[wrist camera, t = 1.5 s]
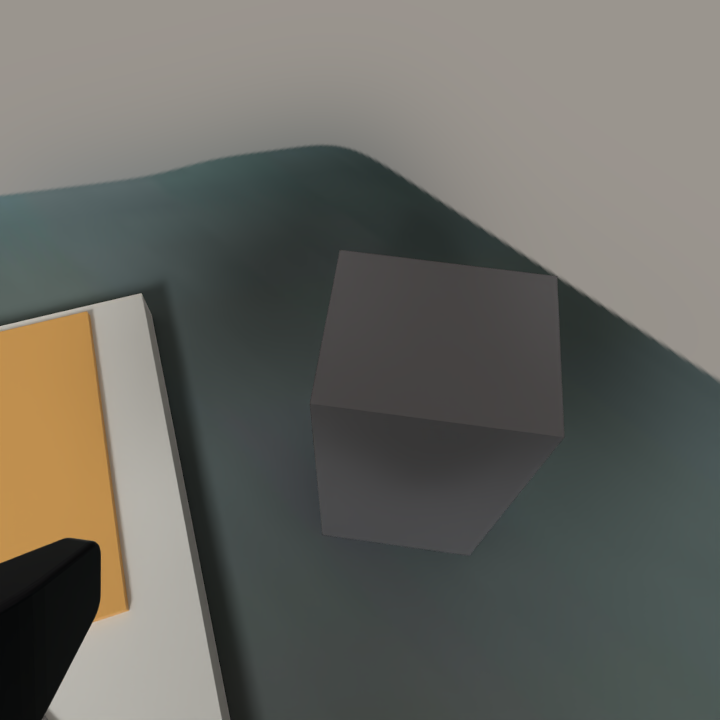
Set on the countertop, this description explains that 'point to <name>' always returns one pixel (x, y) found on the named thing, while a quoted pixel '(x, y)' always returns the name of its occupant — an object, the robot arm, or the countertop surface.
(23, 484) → the white plate with inlay
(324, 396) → the chute block
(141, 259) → the countertop surface
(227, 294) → the countertop surface
